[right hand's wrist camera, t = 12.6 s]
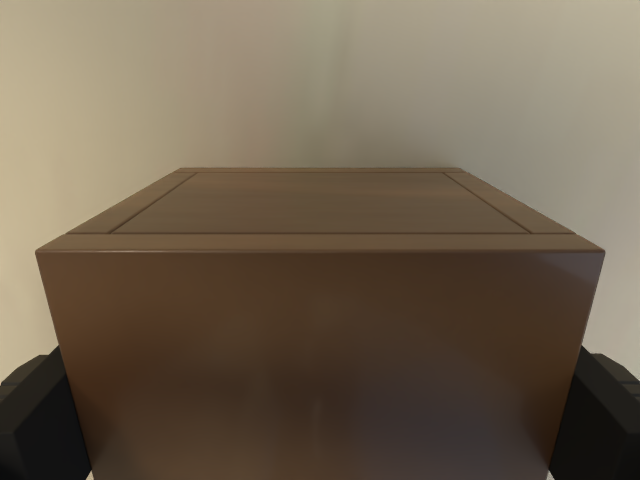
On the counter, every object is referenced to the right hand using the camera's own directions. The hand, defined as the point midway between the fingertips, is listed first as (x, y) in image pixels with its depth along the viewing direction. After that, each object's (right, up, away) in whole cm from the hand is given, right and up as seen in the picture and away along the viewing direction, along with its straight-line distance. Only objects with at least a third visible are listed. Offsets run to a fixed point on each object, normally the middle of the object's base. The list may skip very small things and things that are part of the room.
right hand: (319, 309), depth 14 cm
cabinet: (0, -4, +5) cm, 6 cm away
